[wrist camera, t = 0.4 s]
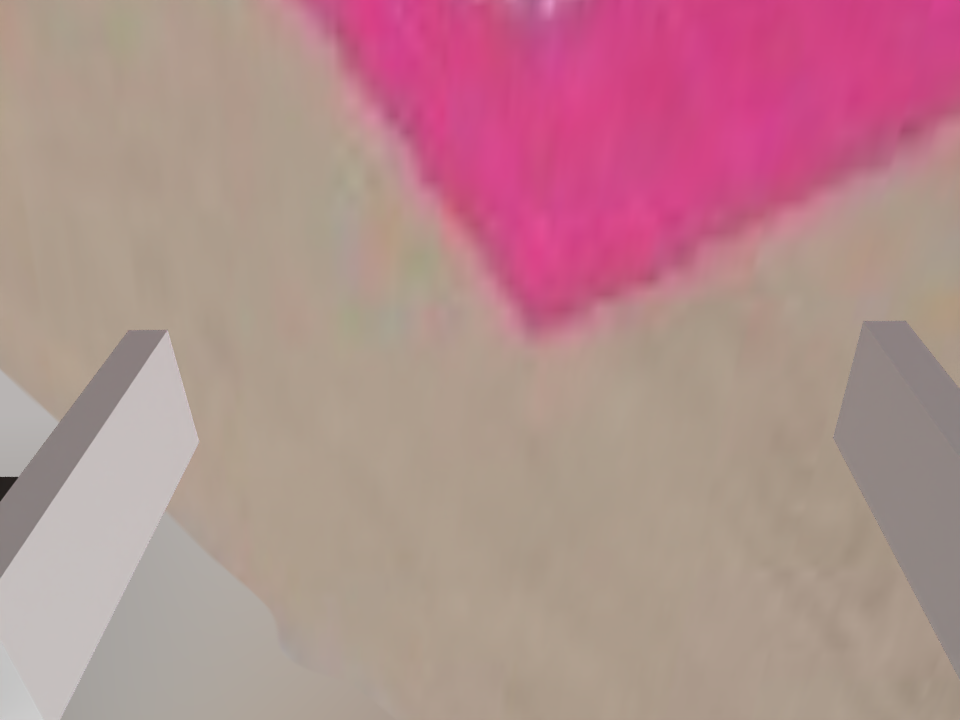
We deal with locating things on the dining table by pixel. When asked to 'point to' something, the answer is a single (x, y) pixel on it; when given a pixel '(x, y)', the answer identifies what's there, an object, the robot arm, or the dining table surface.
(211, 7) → the dining table surface
